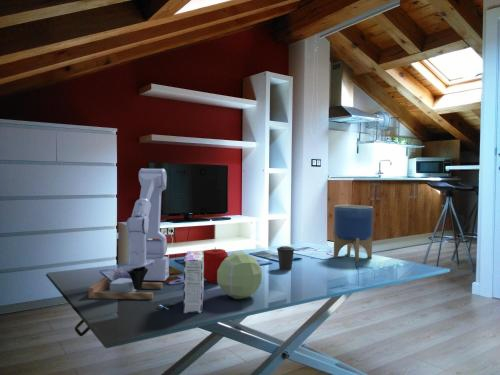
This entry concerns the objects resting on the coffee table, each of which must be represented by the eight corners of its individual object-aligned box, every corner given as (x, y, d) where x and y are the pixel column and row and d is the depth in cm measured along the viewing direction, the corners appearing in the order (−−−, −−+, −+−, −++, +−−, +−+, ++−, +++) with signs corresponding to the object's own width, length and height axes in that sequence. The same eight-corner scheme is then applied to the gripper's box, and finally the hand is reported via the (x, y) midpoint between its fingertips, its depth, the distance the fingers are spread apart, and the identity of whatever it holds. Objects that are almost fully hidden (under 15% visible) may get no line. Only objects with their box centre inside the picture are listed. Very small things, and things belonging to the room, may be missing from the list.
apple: (216, 276, 164) (216, 243, 163) (233, 281, 157) (233, 247, 156) (195, 281, 156) (195, 247, 156) (212, 286, 149) (212, 250, 149)
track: (162, 288, 147) (162, 278, 147) (152, 299, 133) (152, 289, 133) (104, 286, 148) (104, 277, 147) (88, 298, 134) (88, 287, 134)
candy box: (186, 299, 134) (186, 250, 134) (203, 299, 135) (204, 250, 134) (182, 313, 121) (183, 259, 120) (202, 313, 121) (202, 259, 120)
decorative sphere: (226, 306, 127) (227, 259, 127) (211, 293, 141) (212, 251, 141) (268, 301, 133) (269, 256, 133) (250, 288, 147) (251, 248, 146)
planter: (377, 261, 195) (378, 208, 195) (337, 261, 196) (338, 207, 195) (366, 253, 215) (367, 205, 214) (330, 253, 215) (331, 204, 214)
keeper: (137, 290, 145) (137, 279, 145) (128, 295, 138) (128, 284, 138) (119, 288, 146) (119, 278, 146) (109, 294, 139) (109, 283, 139)
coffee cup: (273, 270, 176) (274, 247, 176) (279, 266, 184) (279, 244, 183) (291, 272, 173) (291, 249, 173) (296, 267, 181) (296, 246, 180)
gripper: (145, 246, 148) (145, 282, 149) (113, 252, 136) (113, 292, 136) (159, 248, 144) (158, 285, 145) (127, 255, 132) (127, 295, 133)
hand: (137, 289), depth 140 cm, fingers closed
